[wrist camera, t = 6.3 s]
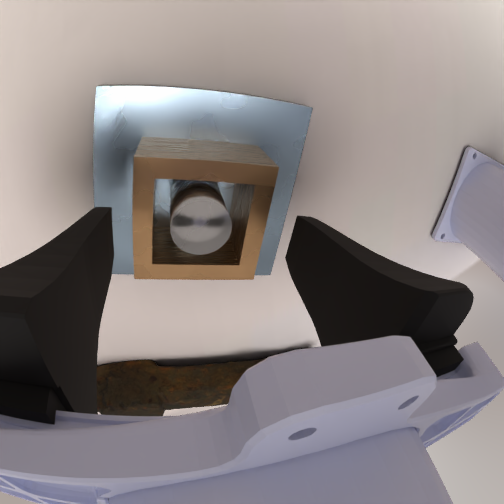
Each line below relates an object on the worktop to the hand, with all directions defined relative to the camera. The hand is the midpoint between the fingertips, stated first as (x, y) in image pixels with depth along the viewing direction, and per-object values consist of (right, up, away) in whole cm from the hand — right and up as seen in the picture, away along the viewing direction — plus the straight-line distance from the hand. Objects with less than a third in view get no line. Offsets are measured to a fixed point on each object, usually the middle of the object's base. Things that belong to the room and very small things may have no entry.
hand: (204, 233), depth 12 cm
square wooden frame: (-1, +2, +3) cm, 4 cm away
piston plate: (-1, +3, +4) cm, 5 cm away
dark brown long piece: (-3, -10, +13) cm, 16 cm away
